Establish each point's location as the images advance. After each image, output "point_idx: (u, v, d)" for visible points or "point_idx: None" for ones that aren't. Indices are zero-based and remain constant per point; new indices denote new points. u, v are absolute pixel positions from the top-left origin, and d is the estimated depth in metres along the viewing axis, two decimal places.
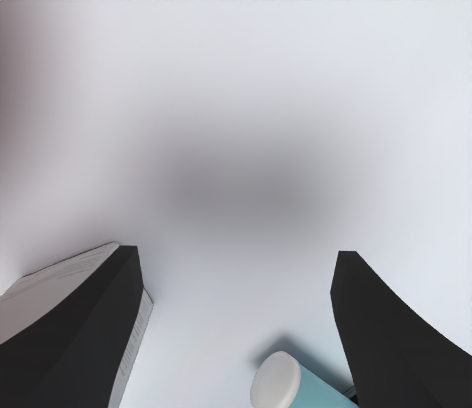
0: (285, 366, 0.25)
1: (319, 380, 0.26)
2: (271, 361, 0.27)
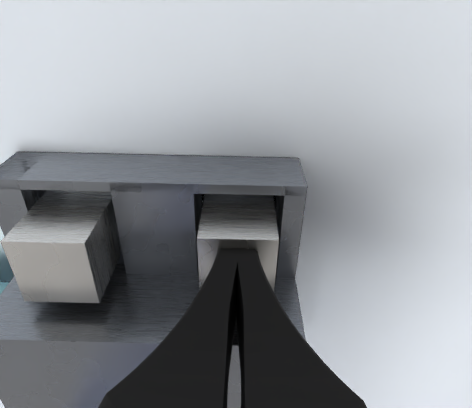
0: None
1: None
2: None
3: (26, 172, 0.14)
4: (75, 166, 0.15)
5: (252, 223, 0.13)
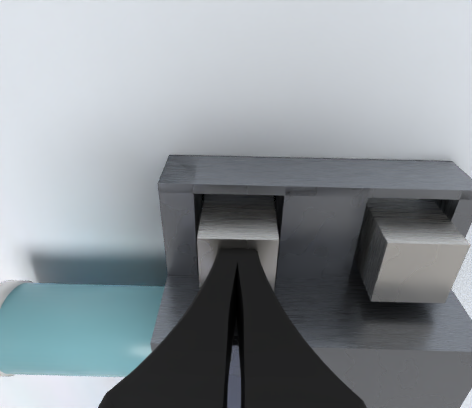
0: None
1: (60, 290, 0.17)
2: None
3: (195, 176, 0.14)
4: (239, 170, 0.15)
5: (432, 227, 0.13)
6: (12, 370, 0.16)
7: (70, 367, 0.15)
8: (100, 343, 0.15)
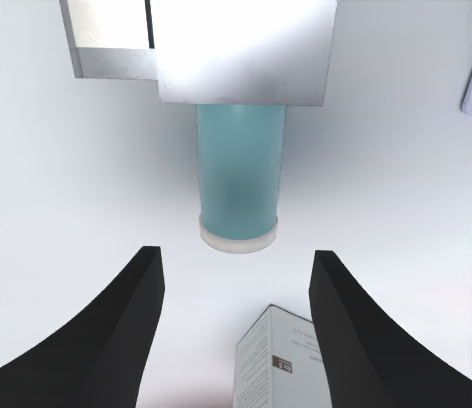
0: None
1: None
2: None
3: None
4: None
5: None
6: (246, 230, 0.18)
7: (240, 184, 0.17)
8: (214, 152, 0.16)
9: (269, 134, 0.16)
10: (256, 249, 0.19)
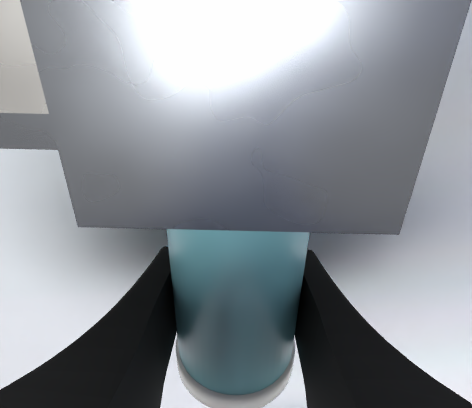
0: None
1: None
2: None
3: None
4: None
5: None
6: (247, 383, 0.11)
7: (237, 327, 0.10)
8: (193, 279, 0.09)
9: (288, 252, 0.09)
10: (263, 404, 0.12)
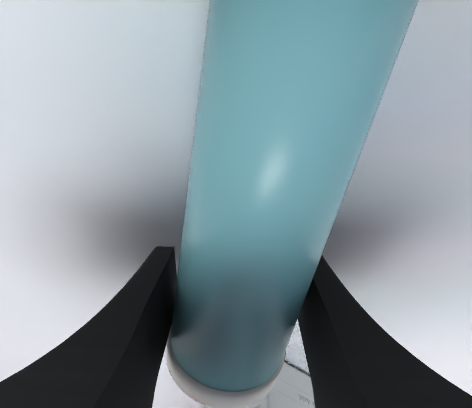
0: None
1: None
2: None
3: None
4: None
5: None
6: (240, 381, 0.11)
7: (245, 324, 0.10)
8: (209, 271, 0.09)
9: (309, 255, 0.09)
10: (251, 403, 0.12)
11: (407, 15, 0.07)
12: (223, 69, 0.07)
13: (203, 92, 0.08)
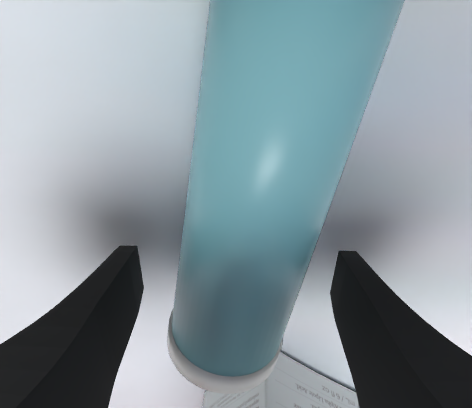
0: None
1: None
2: None
3: None
4: None
5: None
6: (239, 366, 0.12)
7: (243, 309, 0.10)
8: (209, 258, 0.10)
9: (304, 242, 0.10)
10: (249, 388, 0.12)
11: (393, 15, 0.07)
12: (223, 65, 0.07)
13: (204, 87, 0.08)
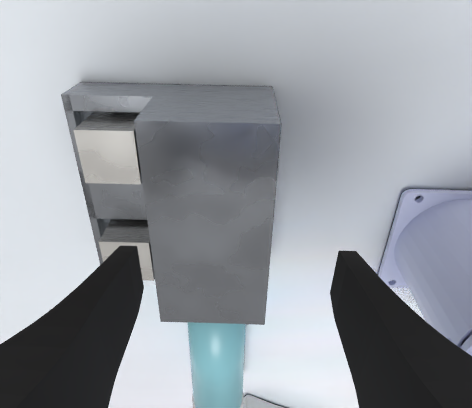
0: None
1: None
2: None
3: None
4: None
5: None
6: None
7: (216, 398, 0.27)
8: (200, 382, 0.27)
9: (233, 374, 0.26)
10: None
11: None
12: (192, 334, 0.24)
13: (189, 333, 0.25)
